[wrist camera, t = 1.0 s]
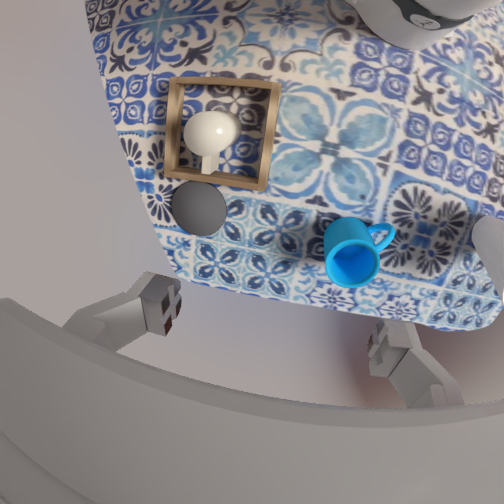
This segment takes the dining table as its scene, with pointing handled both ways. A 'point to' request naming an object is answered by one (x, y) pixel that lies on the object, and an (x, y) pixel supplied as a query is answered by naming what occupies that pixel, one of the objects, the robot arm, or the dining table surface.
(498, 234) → the cup
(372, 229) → the mug
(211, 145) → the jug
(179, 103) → the holder
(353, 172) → the dining table surface
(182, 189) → the grey oval disc
